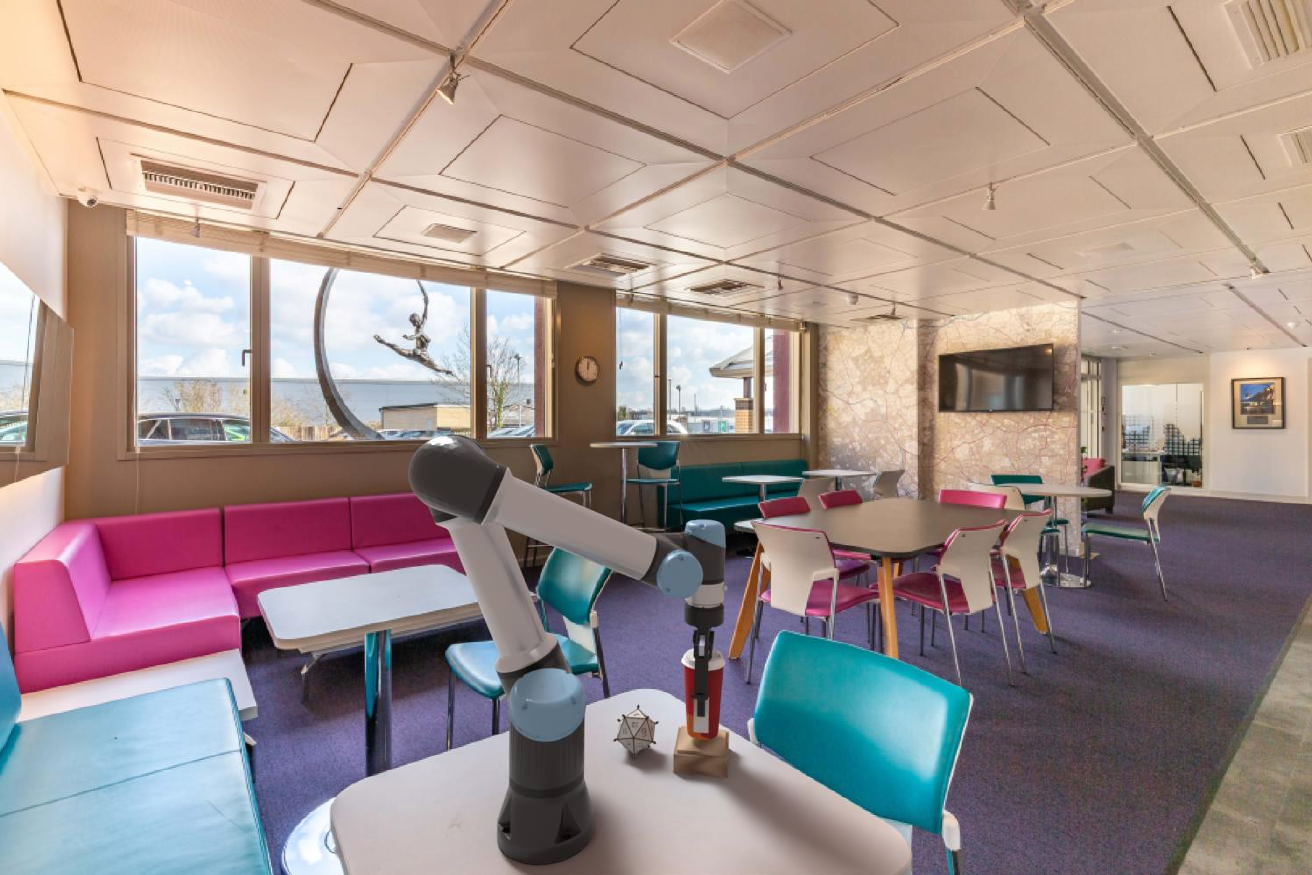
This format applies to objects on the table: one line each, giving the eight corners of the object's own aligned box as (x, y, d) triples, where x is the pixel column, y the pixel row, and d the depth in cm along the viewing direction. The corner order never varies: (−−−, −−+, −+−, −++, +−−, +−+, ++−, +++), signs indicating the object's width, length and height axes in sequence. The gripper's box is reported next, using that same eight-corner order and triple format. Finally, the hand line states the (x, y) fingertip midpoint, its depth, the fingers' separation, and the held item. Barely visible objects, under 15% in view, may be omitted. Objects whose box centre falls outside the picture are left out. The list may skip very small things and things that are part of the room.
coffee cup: (725, 724, 119) (727, 648, 118) (722, 745, 111) (723, 664, 110) (683, 719, 121) (685, 644, 120) (677, 740, 112) (678, 660, 112)
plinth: (673, 772, 112) (673, 750, 111) (678, 743, 121) (678, 724, 121) (727, 777, 110) (728, 755, 110) (728, 748, 120) (729, 728, 120)
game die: (633, 764, 121) (637, 710, 126) (665, 762, 116) (669, 707, 122) (601, 756, 115) (607, 700, 121) (634, 754, 111) (639, 696, 116)
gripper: (722, 620, 105) (720, 750, 105) (725, 589, 125) (723, 699, 125) (679, 617, 106) (677, 747, 106) (689, 587, 126) (687, 696, 126)
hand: (702, 720), depth 116 cm, fingers closed on coffee cup, 7 cm apart
